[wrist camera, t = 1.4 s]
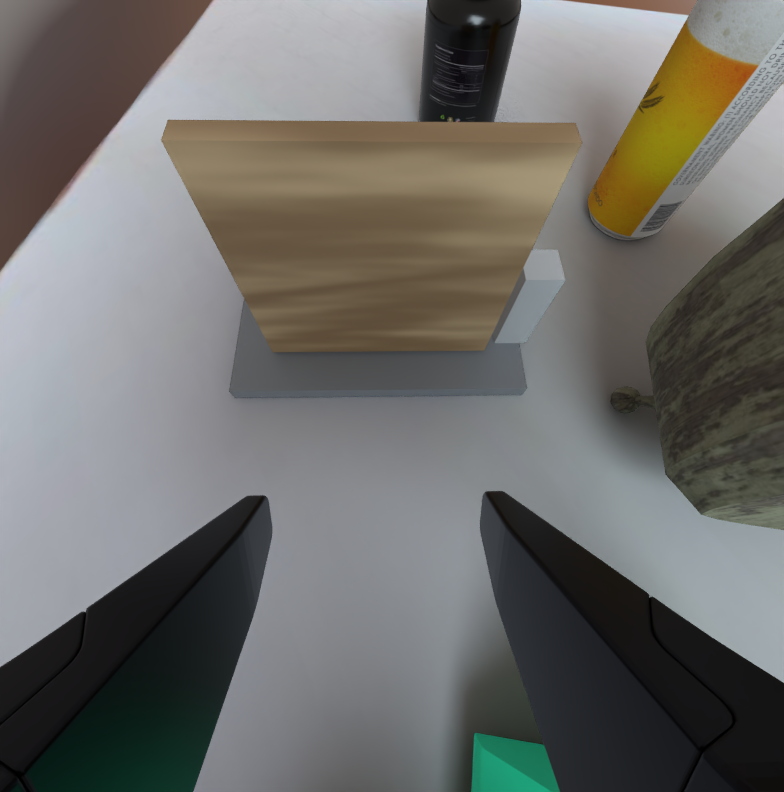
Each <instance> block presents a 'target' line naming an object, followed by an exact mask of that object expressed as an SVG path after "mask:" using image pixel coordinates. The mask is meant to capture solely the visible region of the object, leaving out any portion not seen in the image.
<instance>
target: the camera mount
mask: <svg viewBox="0 0 784 792" xmlns="http://www.w3.org/2000/svg"><path fill="white" fill-rule="evenodd" d="M471 792H560V790H559V787H558V785H557V782H556V779H555V776H554V773H553V770H552V767H551V764H550V761H549V758H548V755H547V752H546V749H545V746H544V745H542V744H536V743H531V742H525V741H519V740H514V739H508V738H502V737H497V736H491V735H485V734H479V733H474V747H473V768H472V789H471Z"/></svg>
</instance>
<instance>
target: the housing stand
mask: <svg viewBox="0 0 784 792" xmlns="http://www.w3.org/2000/svg"><path fill="white" fill-rule="evenodd" d="M564 282H565V276H564V272H563V268H562V264H561V260H560V256H559V252H558V250H531V253H530V255H529V257H528V259H527V261H526V263H525V265H524V267H523V270H522V272H521V274H520V276H519V278H518V280H517V282H516V284H515V287H514V289H513V291H512V293H511V295H510V297H509V299H508V301H507V303H506V306H505V308H504V310H503V312H502V314H501V316H500V318H499V320H498V323H497V325H496V327H495V329H494V331H493V333H492V335H491V337H490V340H489V342H488V344H487V346H486V348H485V350H484V351H371V352H272V350H271V349H270V347H269V345H268V343H267V341H266V339H265V337H264V335H263V333H262V331H261V329H260V328H259V326H258V324H257V322H256V320H255V318H254V316H253V314H252V312H251V310H250V309H249V307H248V305H247V303H246V301H245V299H244V304H243V310H242V316H241V322H240V328H239V334H238V341H237V347H236V353H235V359H234V365H233V371H232V377H231V383H230V390H229V392H230V393H231V394H232V395H233V396H234V397H235V398H277V397H368V396H459V395H522V394H523V393H524V391H525V390H526V389H527V385H526V380H525V374H524V368H523V363H522V357H521V351H520V346H519V343H526V341H527V339H528V338H529V336H530V335H531V333H532V332H533V330H534V328H535V327H536V325H537V324H538V322H539V321H540V319H541V318H542V316H543V314H544V313H545V311H546V310H547V308H548V307H549V305H550V303H551V302H552V300H553V299H554V297H555V296H556V294H557V292H558V291H559V289H560V288H561V286H562V285H563V283H564Z"/></svg>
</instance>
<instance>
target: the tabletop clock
mask: <svg viewBox="0 0 784 792" xmlns="http://www.w3.org/2000/svg"><path fill="white" fill-rule="evenodd" d="M646 346H647V352H648V359H649V366H650V373H651V379H652V386H653V393H654V396H640V394H639V393H638V391H637V390H635V389H633V388H631V387H622V388H618V389H616V390H615V392H614V393H613V394H612V395H611V404H612V405H613V407H614V409H616V410H618V411H620V412H622V413H628V412H633V411H635V410H636V409H637V408H638V407H639V406H645V407H651V408H656V413H657V420H658V426H659V433H660V440H661V447H662V453H663V460H664V467H665V473H666V475H667V476H668V478H669V479H670V480H671V481H672V482H673V483H674V484H675V485H676V487H677V488H678V489H679V490H680V491H681V492H682V493H683V494H684V496H685V497H686V498H687V499H688V500H689V501H690V502H691V504H692V505H693V506H694V507H695V508H696V509H697V510H698V511H699V513H700V514H701V515H705V516H708V517H711V518H715V519H720V520H724V521H730V522H736V523H742V524H748V525H755V526H761V527H768V528H774V529H781V530H784V199H782V200H781V201H780V202H779V203H778V204H776V205H775V206H774V207H773V208H772V209H770V210H769V211H768V212H767V213H766V214H764V215H763V216H762V217H761V218H760V219H758V220H757V221H756V222H755V223H754V224H752V225H751V226H750V227H749V228H748V229H747V230H745V231H744V232H743V233H742V234H741V235H739V236H738V237H737V238H736V239H735V240H733V241H732V242H731V243H730V244H729V245H727V246H726V247H725V248H724V249H723V250H721V251H720V252H719V253H718V254H717V255H715V256H714V257H713V258H712V259H711V260H710V261H709V262H708V263H707V264H706V265H705V267H704V268H703V269H702V270H701V271H700V272H699V273H698V274H697V275H696V276H695V277H694V278H693V279H692V280H691V281H690V282H689V283H688V284H687V285H686V286H685V287H684V288H683V289H682V291H681V292H680V293H679V294H678V295H677V296H676V297H675V298H674V299H673V300H672V301H671V302H670V303H669V304H668V305H667V306H666V308H665V309H664V310H663V311H662V313H661V314H660V315H659V317H658V318H657V319H656V321H655V322H654V324H653V325H652V327H651V329H650V332H649V335H648V338H647V341H646Z"/></svg>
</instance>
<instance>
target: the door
mask: <svg viewBox="0 0 784 792" xmlns="http://www.w3.org/2000/svg"><path fill="white" fill-rule="evenodd" d="M161 141H162V143H163V145H164V147H165V148H166V150H167V152H168V154H169V156H170V158H171V160H172V162H173V164H174V166H175V168H176V169H177V171H178V173H179V175H180V177H181V179H182V181H183V183H184V185H185V187H186V189H187V190H188V192H189V194H190V196H191V198H192V200H193V202H194V204H195V206H196V208H197V209H198V211H199V213H200V215H201V217H202V219H203V221H204V223H205V225H206V227H207V229H208V230H209V232H210V234H211V236H212V238H213V240H214V242H215V244H216V246H217V248H218V249H219V251H220V253H221V255H222V257H223V259H224V261H225V263H226V265H227V267H228V269H229V270H230V272H231V274H232V276H233V278H234V280H235V282H236V284H237V286H238V288H239V289H240V291H241V293H242V295H243V297H244V299H245V301H246V303H247V305H248V307H249V309H250V310H251V312H252V314H253V316H254V318H255V320H256V322H257V324H258V326H259V328H260V329H261V331H262V333H263V335H264V337H265V339H266V341H267V343H268V345H269V347H270V349H271V350H272V352H371V351H484V350H485V348H486V346H487V344H488V342H489V340H490V337H491V335H492V333H493V331H494V329H495V327H496V325H497V323H498V320H499V318H500V316H501V314H502V312H503V310H504V308H505V306H506V303H507V301H508V299H509V297H510V295H511V293H512V291H513V289H514V287H515V284H516V282H517V280H518V278H519V276H520V274H521V272H522V270H523V267H524V265H525V263H526V261H527V259H528V257H529V255H530V253H531V250H532V248H533V246H534V244H535V242H536V240H537V238H538V236H539V233H540V231H541V229H542V227H543V225H544V223H545V221H546V219H547V216H548V214H549V212H550V210H551V208H552V206H553V204H554V202H555V199H556V197H557V195H558V193H559V191H560V189H561V187H562V185H563V182H564V180H565V178H566V176H567V174H568V172H569V170H570V168H571V165H572V163H573V161H574V159H575V157H576V155H577V153H578V151H579V148H580V146H581V144H582V141H581V138H580V135H579V132H578V129H577V126H576V123H507V122H378V121H250V120H168V121H167V124H166V127H165V130H164V133H163V136H162V139H161Z"/></svg>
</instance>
